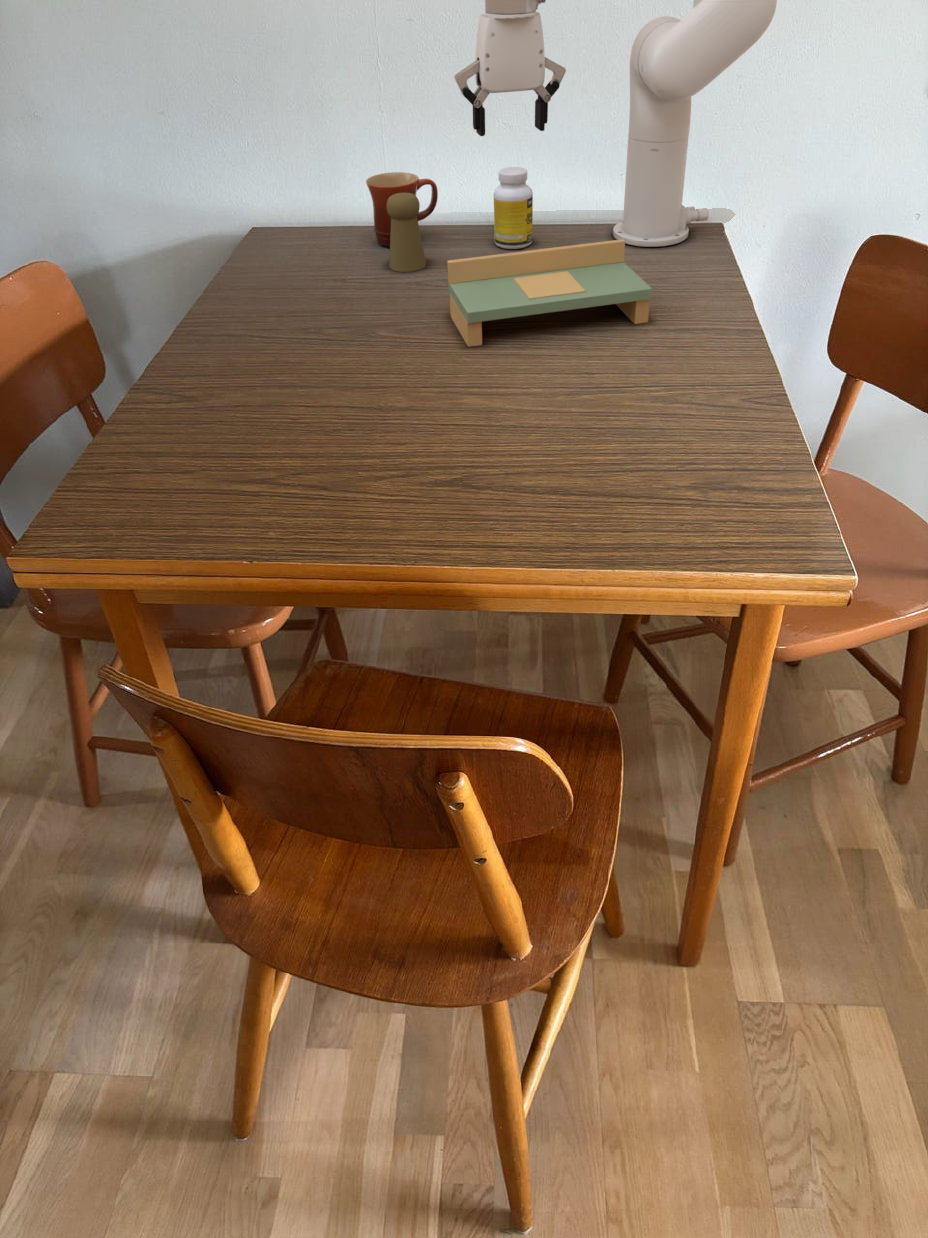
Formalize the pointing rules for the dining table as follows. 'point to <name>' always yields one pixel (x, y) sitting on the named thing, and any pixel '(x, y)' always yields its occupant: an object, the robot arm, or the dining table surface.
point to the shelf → (543, 285)
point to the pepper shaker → (405, 233)
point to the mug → (386, 187)
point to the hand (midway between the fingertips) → (510, 131)
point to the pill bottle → (513, 209)
